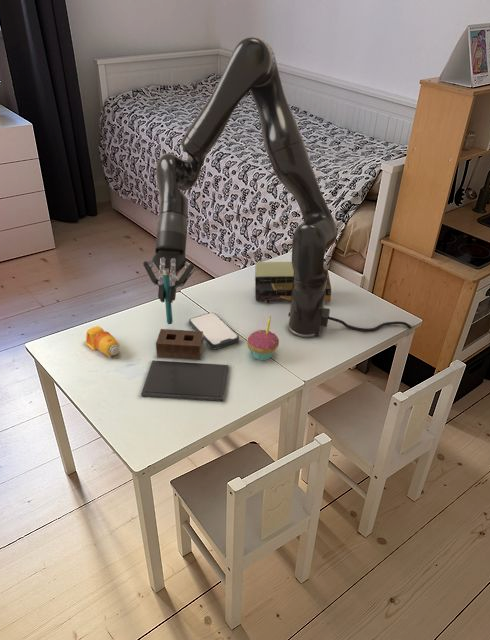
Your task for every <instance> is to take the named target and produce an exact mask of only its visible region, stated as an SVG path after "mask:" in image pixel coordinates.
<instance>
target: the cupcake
mask: <svg viewBox="0 0 490 640" xmlns="http://www.w3.org/2000/svg"><path fill="white" fill-rule="evenodd" d="M271 322H272V315H270V316H269V318H268V320H267V324H266V329H259V330H256V331H254V332H252V333H250V335H249V336H248V337H247V341H246V345H247V348H248V349H249V350H251V351H252V354H253V357H254V358H255V359H256V360H259V361H267V360H269V359H270V358H271V357H272V355H273V353H274V352H275V351H276V350H277V349H278V348H279V345H280V340H279V337H278V335H277V334H276V332H275V333H274V332H272V331H270V327H271Z"/></svg>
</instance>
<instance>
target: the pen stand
mask: <svg viewBox="0 0 490 640" xmlns="http://www.w3.org/2000/svg"><path fill="white" fill-rule="evenodd" d="M155 349H156V357H157V358H166V359H179V360H180V359H183V360H195V361H196V360H198V361H199V360H201V357H202V353H203V349H204V339H203V331H195V330H187V329H186V330H183V329H169V328H160V330H159V333H158V336H157V339H156V342H155Z"/></svg>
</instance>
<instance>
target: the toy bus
mask: <svg viewBox="0 0 490 640" xmlns="http://www.w3.org/2000/svg"><path fill="white" fill-rule="evenodd" d="M324 264H325V265H326V266H327V263H326V261H324ZM254 266H255V267H254V270H255V272H254V273H255V274H254V289H255V291H254V293H255V301H256V302H262V303H263V302H264V303H265V304H269V303H271V302H291V297H292V285H293V274H294V270H293V267H292V261H256V262H255V265H254ZM331 297H332V286H331V280H330V275H329V273H328V276H327V283H326V291H325V302H331Z"/></svg>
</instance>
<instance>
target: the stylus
mask: <svg viewBox="0 0 490 640" xmlns="http://www.w3.org/2000/svg"><path fill="white" fill-rule="evenodd" d="M163 281H164V292H165V302H164V303H165V305H164V306H165V314H166V315H165V316H166V323H167V325H172V324H173V322H174V321H173V308H172V303H170V302H169V300H168V299H169V287H170V286H171V284H170V281H171V278H170V274H169V269H168V268H164V269H163Z"/></svg>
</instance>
